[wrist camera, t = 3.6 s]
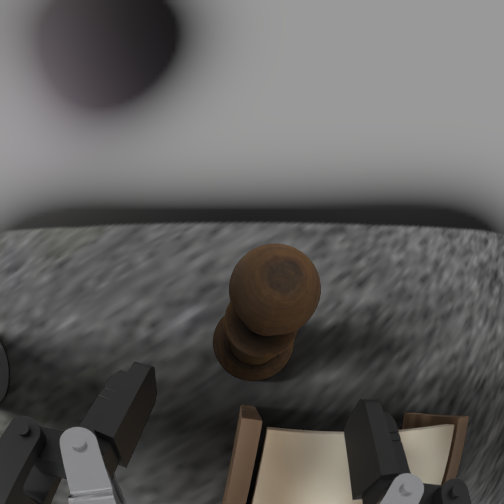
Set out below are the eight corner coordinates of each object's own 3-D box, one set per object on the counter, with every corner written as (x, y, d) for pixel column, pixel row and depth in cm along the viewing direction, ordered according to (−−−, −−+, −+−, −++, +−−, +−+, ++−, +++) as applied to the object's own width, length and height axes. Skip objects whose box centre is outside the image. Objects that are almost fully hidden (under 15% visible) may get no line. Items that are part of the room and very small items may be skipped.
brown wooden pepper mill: (273, 298, 27) (326, 166, 10) (300, 363, 24) (416, 328, 8) (204, 323, 25) (145, 219, 9) (230, 391, 23) (211, 424, 6)
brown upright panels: (214, 540, 16) (207, 587, 8) (241, 404, 22) (242, 417, 15) (381, 537, 15) (418, 568, 8) (413, 412, 22) (468, 415, 14)
